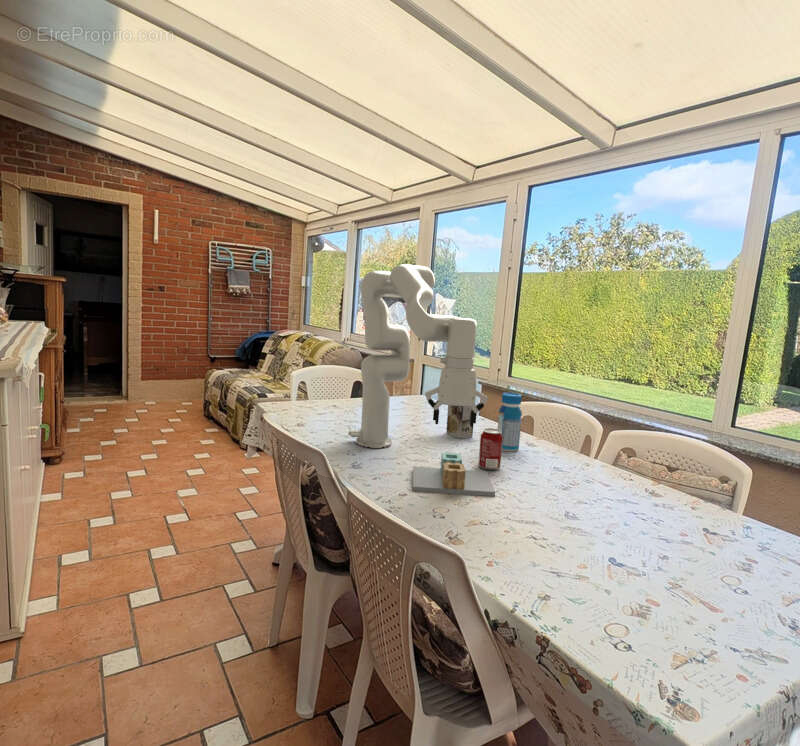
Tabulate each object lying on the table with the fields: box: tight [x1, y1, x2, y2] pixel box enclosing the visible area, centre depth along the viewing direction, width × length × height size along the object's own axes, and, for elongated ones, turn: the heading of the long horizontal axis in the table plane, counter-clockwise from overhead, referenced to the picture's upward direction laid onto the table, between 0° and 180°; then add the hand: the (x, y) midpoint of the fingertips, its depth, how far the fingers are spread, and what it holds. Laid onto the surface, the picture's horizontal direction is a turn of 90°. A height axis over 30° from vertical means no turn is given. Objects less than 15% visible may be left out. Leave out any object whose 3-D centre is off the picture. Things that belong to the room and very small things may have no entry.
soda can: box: [477, 427, 503, 471], centre depth 148 cm, size 7×7×12 cm
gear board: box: [412, 451, 496, 497], centre depth 133 cm, size 22×16×6 cm
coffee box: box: [445, 405, 474, 440], centre depth 183 cm, size 9×6×16 cm
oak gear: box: [442, 462, 466, 490], centre depth 129 cm, size 6×7×5 cm
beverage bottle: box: [496, 392, 523, 452], centre depth 168 cm, size 8×8×20 cm
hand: (453, 424), depth 130 cm, fingers open, 9 cm apart
